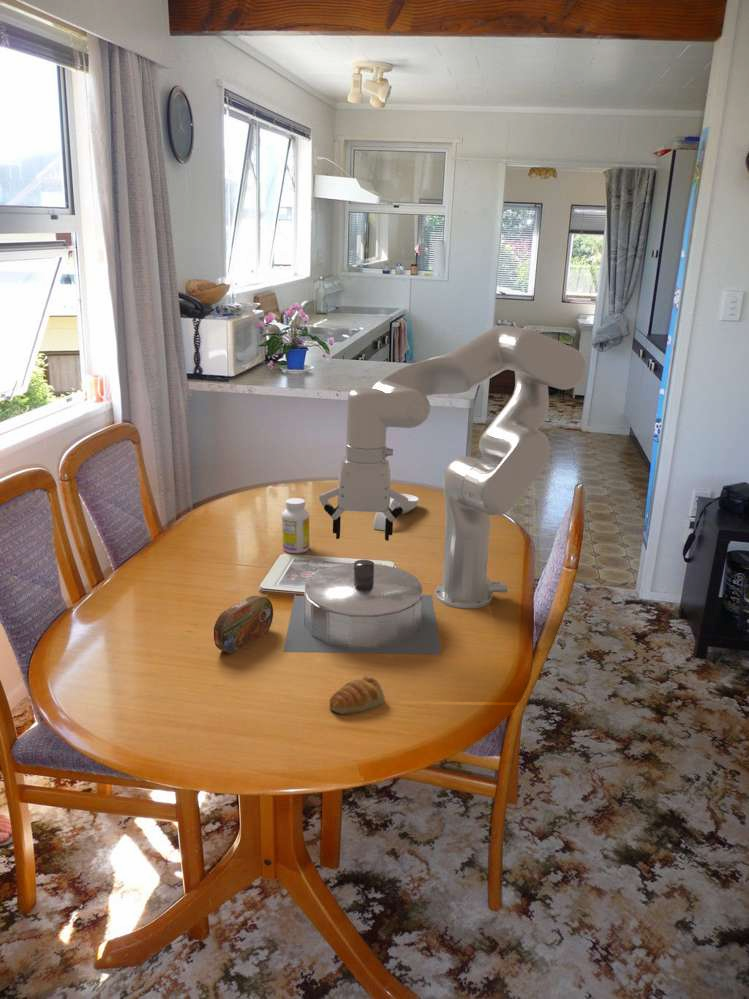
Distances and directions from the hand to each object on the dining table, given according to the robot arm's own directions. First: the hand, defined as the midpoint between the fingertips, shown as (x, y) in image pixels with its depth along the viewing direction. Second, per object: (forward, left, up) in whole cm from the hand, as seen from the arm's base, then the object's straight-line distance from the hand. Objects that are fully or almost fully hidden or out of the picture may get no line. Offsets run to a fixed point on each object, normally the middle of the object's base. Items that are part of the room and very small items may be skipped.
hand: (362, 537), depth 161 cm
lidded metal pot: (0, 0, -19) cm, 19 cm away
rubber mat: (0, 0, -19) cm, 19 cm away
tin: (+23, +9, -19) cm, 31 cm away
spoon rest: (-9, -65, -19) cm, 68 cm away
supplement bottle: (+17, -39, -19) cm, 47 cm away
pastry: (0, +29, -19) cm, 35 cm away
